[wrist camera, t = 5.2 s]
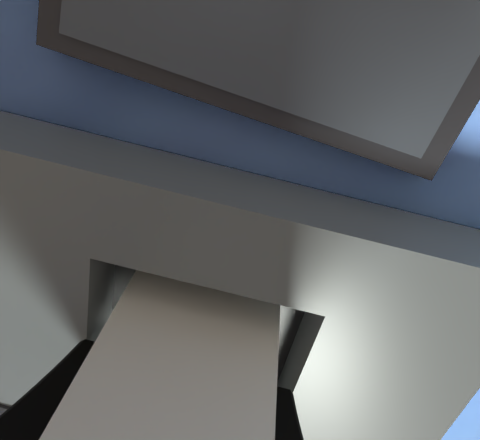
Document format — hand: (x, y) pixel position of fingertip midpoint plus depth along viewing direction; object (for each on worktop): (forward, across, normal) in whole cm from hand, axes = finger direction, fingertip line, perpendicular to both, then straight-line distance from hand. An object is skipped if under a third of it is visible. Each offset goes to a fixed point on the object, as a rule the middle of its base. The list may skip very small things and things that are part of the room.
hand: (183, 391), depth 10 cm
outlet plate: (+3, +1, +1) cm, 3 cm away
